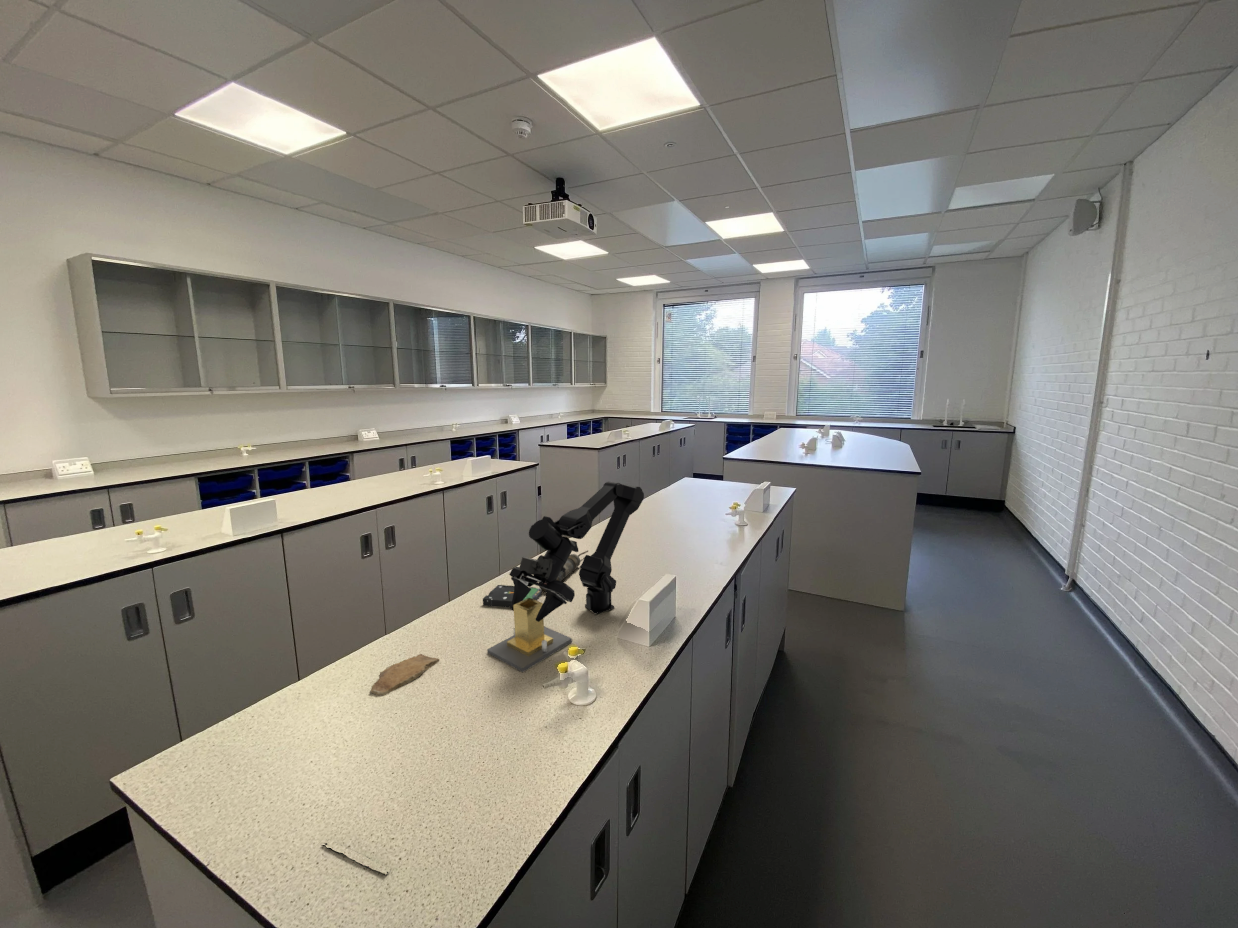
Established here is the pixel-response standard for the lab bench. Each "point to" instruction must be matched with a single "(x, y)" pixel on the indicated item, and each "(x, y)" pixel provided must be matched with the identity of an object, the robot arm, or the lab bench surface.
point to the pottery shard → (402, 673)
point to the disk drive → (507, 596)
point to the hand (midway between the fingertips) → (524, 615)
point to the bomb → (568, 567)
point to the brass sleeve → (528, 628)
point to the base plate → (525, 662)
